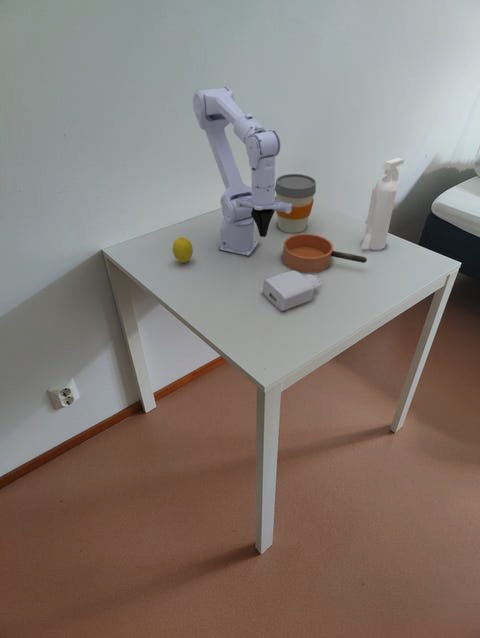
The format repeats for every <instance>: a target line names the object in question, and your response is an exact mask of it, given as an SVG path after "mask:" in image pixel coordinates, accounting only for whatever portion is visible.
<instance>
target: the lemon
mask: <svg viewBox="0 0 480 638" xmlns="http://www.w3.org/2000/svg"><path fill="white" fill-rule="evenodd" d="M193 251H194V249H193V245H192V242H191V241H190V239H188V238H186V237H185V236H180V237H178V238H177V239H175V240H174V242H173V243H172V254H173V256H174V258H175V259H176V260H177V261H179V262H181V263H186V262H188V261H190V260H191V258H192V256H193V254H194V253H193Z"/></svg>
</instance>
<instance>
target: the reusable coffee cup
mask: <svg viewBox="0 0 480 638" xmlns="http://www.w3.org/2000/svg"><path fill="white" fill-rule="evenodd" d="M316 187H317V181H316V179H315V178H313V177H312V176H309V175H306V174H299V173H287V174H283V175H281V176H279V177H277V178H276V179H275V199H274V200H278V201H282V202H285V203H291V204H292V210H291V212H290V213H289V214H288V213H285V212H280V211H275V213H276V215H277V227H278V228H279V230H281V231H282V232H285V233H290V234H296V233H301V232H304V231H305V230H306V228H307V223H308V220H309V216H310V215H311V213H312V209H313V205H314V203H315V202H314V201H315V199H314V196H315V194H316V192H317V188H316Z"/></svg>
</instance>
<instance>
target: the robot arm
mask: <svg viewBox="0 0 480 638" xmlns="http://www.w3.org/2000/svg"><path fill="white" fill-rule="evenodd" d="M192 107H193V112H194V115H195V118H196V121H197V124H198V126H199V128H200V129H201V130H203V131H204V132H205V135H206V137H207V140H208V144H209V146H210V149H211V150H212V151H211V152H212V154H213V156H214V161H215V163H216V165H217V168H218V171H219V174H220V176H221V180H222V182H223V185H224V188H225V190H224V192H223V193H222V195H221V197H220V200H219V201H220V205H221V211H222V215H223V219H222V221H221V222H220V228H219V229H220V230H219V233H220V234H219V235H220V236H219V237H220V247H219V250H220V251H223V252H224V251H225V252H229V253H233V254H239V255H242V256H249V257H250V255H251V254H252V253H253V251H254V250H255V249H256V247H257V246H258V245H259V242H258V241H254V240H255V239H254V238H255V236H254V235H255V225H256V228H257V230H258V235H259V237H260V238H266V236H267V235H268V232H269V231H268V230H269V227H270V223H271V220H272V218H273V216H274V214H275V213H276V211H280V212H285V213H288V214H289V213H290V212H291V210H292V204H291V203H285V202H282V201H278V200H275V197H276V192H275V185H276V157H277V156H278V155H279V154H280V152H281V139H280V137H279V135H278V133H277V131H276V130H275V129H268V128H267V129H266V128H264V126H263V125H262V124H261V123H260V122H258V120H257V119H256V118H255V117H254V115H253V114H252V113H244V112H243V111H242V109H241V108H240V107H239V106H238V104H237V103H236V101H235V95H234V92H233V91H232V90H231V88H230V87H228V86H224V87H222V88H221V87H220V88H212V89H203V90H202V89H201V90H200V89H197V90H196V91H195V92H194V94H193V96H192ZM230 124H231V125H232V126H233V133H234V134H235V136H237V138H238V139H239V140H240V141H241V142H242V143H243V145H245V150H246V154H247V157H248V165H249V167H250V169H251V170H250V171H251V172H250V173H251V186H250V185H247V184H245V183H243V179H242V177H241V174H240V171H239V168H238V164H237V162H236V159H235V157H234V154H233V151H232V147H231V146H230V143H229V139H228V137H227V134H226V131H225V128H226V127H228V125H230Z"/></svg>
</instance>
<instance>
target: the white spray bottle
mask: <svg viewBox="0 0 480 638" xmlns="http://www.w3.org/2000/svg"><path fill="white" fill-rule="evenodd" d="M404 162H405V158H399V157H396V158H393V159H389V160H386V161H385V160H384V162H383V166H382V170H384V171H383V174H381V176H380V177H379V178H378V179H377V181H375V182H374V183H373V185H372V190H371V195H370V197H371V198H370V201H369V202H370V203H369V208H368V214H367V220H366V227H365V231H364V238H363V241H362V243H361V245H360V248H361V249H362V250H372V251H380V250H383V249H384V248H385V247H386V243H387V239H388V234H389V228H390V225H391V220H392V215H393V211H394V206H395V200H396V195H397V191H398V190H397V189H398V188H397V182H398V180H399V178H400V177H399V175H400V173H399V170H398V168H397V167H400V166H401V165H404Z"/></svg>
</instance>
